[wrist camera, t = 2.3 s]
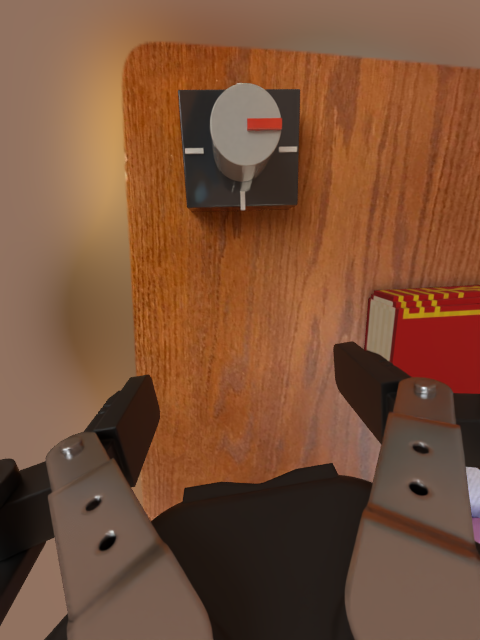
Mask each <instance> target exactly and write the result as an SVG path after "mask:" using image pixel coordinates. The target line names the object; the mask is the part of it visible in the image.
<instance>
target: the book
mask: <svg viewBox="0 0 480 640" xmlns="http://www.w3.org/2000/svg"><path fill="white" fill-rule="evenodd" d="M364 350H365V351H366V350H368V351H371V352H374V353H377V354H380V355H381V356H382V357H384V358H385V359H387V361H390V362H391V363H392V364H394V366H397V367H398V368H400V369H401V370H402V371H404V372H405V373H407V374H408V375H410V376H411V377H424V378H430V379H435V380H438V381H440V382H443V383H445V384H446V385H448V386H449V387H450V388H451V389H452V391H453V393H471V394H480V285H472V286H453V287H434V288H415V289H396V290H378V291H374V294H371V298H369V300H368V311H367V323H366V335H365V347H364Z"/></svg>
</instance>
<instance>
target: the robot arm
mask: <svg viewBox="0 0 480 640" xmlns="http://www.w3.org/2000/svg"><path fill="white" fill-rule="evenodd" d="M333 352H334V367H335V380H336V384H337V387H338V389H339V391H340V393H341V394H342V395H343V397H344V398H345V399H346V400H347V402H348V403H349V404H350V405H351V407H352V408H353V409H354V411H355V412H356V413H357V414H358V416H359V417H360V418H361V419H362V421H363V422H364V423H365V424H366V426H367V427H368V428H369V430H370V431H371V432H372V433H373V435H374V436H375V437H376V438H377V440H378V441H379V442H380V443H381V449H380V453H379V458H378V462H377V466H376V471H375V475H374V480H373V483H371V482H369V481H366V480H363V479H359V478H355V477H350V476H344V475H338V473H337V471H336V469H335V467H334V465H333V463H329V464H323V465H317V466H311V467H305V468H299V469H295V470H293V471H290V472H288V473H286V474H283V475H281V476H278V477H276V478H273V479H271V480H269V481H266V482H264V483H260V484H250V483H233V482H217V483H211V484H205V485H200V486H194V487H188V488H185V489H184V495H183V502H181V503H178V504H176V505H174V506H173V507H171V508H169V509H167V510H166V511H164V512H163V513H161V514H160V515H159V516H157V517H156V518H155V519H153V520H152V521H150V520H149V518H148V516H147V514H146V513H145V511H144V509H143V507H142V506H141V504H140V503H139V501H138V499H137V497H136V496H135V494H134V492H133V490H132V489H131V487H135V485H136V482H137V480H138V477H139V474H140V472H141V469H142V466H143V463H144V461H145V458H146V455H147V453H148V450H149V447H150V445H151V442H152V439H153V436H154V434H155V431H156V428H157V426H158V423H159V419H160V409H159V405H158V401H157V397H156V393H155V390H154V386H153V382H152V379H151V377H150V375H143V376H137V377H131V378H130V379H129V380H128V382H127V383H126V384H125V386H124V387H123V389H122V390H121V391H118V392H117V393H115V394H114V395H113V396H111V397H110V398H109V399H108V400H107V401H106V403H105V404H104V406H103V408H101V410H100V411H99V412H98V414H97V415H96V416H95V418H94V419H93V420H92V421H91V423H90V424H89V425H88V427H87V428H86V429H85V431H84V432H81V433H78V434H75V435H72V436H70V437H68V438H66V439H64V440H63V441H61V442H59V443H58V444H57V445H56V446H54V447H53V448H52V449H51V450H50V451H49V453H48V454H47V456H46V461H45V462H42V463H40V464H37V465H34V466H31V467H29V468H26V469H23V470H20V471H19V469H18V467H17V465H16V463H15V461H14V460H13V459H2V460H0V625H1V624H2V622H3V620H4V618H5V616H6V614H7V613H8V611H9V609H10V607H11V605H12V603H13V602H14V600H15V598H16V596H17V594H18V592H19V591H20V589H21V587H22V585H23V583H24V582H25V580H26V578H27V576H28V574H29V572H30V571H31V569H32V567H33V565H34V563H35V562H36V560H37V558H38V556H39V554H40V552H41V551H42V549H43V547H44V545H45V543H46V541H47V540H50V539H52V538H54V537H55V542H56V547H57V553H58V559H59V565H60V570H61V576H62V582H63V588H64V593H65V600H66V605H67V611H68V614H67V615H66V616H65V617H64V618H63V619H62V620H61V622H60V623H59V624H58V625H57V626H56V627H55V628H54V629H53V631H52V632H51V633H50V634H49V635H48V636H47V637H46V638H45V639H44V640H480V543H478V542H476V541H475V540H474V532H473V524H472V516H471V507H470V499H469V491H468V483H467V475H466V467H476V468H479V469H480V394H471V393H453V391H452V389H451V388H450V387H449V386H448V385H446V384H445V383H443V382H440V381H438V380H435V379H430V378H424V377H411V376H410V375H408V374H407V373H405V372H404V371H402V370H401V369H400V368H398V367H397V366H394V364H392V363H391V362H390V361H387V359H385V358H384V357H382V356H381V355H380V354H377V353H374V352H371V351H368V350H366V351H365V350H364V349H362V348H361V347H360V346H358V345H357V344H356V343H354V342H346V343H340V344H335V345H334V349H333Z"/></svg>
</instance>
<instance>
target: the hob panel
mask: <svg viewBox="0 0 480 640" xmlns="http://www.w3.org/2000/svg"><path fill="white" fill-rule="evenodd" d="M237 84H241V83H237ZM264 90H266V91H267V92H268V93H269V94H270V95H271V96H272V98H273V99H274V100H275V102H276V104H277V106H278V109H279V112H280V115H281V118H282V129H281V135H280V139H279V142H278V144H277V147H276V148H275V150H274V152H273V154H272V156H271V158H270V160H269V162H268V163H267V165H266V167H265V169H264V170H263V171H262V173H261V174H260V175H259V176H257V177H256V178H254V179H252V180H250V181H244V182H239V181H234V180H231V179H229V178H228V177H226V176H225V175H224V174H223V173H222V172H221V171H220V170H219V168H218V167H217V165H216V163H215V160H214V156H213V149H212V140H211V132H210V117H211V112H212V109H213V106H214V104H215V102H216V100H217V99H218V97H219V96H220V95H221V94H222V93H223V92H224V91H225V90H178V97H179V110H180V123H181V136H182V149H183V162H184V174H185V187H186V200H187V208H188V209H189V210H190V211H191V212H216V211H254V210H289V209H291V208H292V207H294V206H296V205H297V204H298V161H299V118H300V89H264Z"/></svg>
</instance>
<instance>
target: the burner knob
mask: <svg viewBox="0 0 480 640" xmlns="http://www.w3.org/2000/svg"><path fill="white" fill-rule="evenodd" d="M281 129H282V118H281V115H280V112H279V109H278V106H277V104H276V102H275V100H274V99H273V98H272V96H271V95H270V94H269V93H268V92H267V91H266V90H264V89H263V88H261V87H259V86H257V85H254V84H250V83H241V84H237V85H234V86H231V87H230V88H228V89H226V90H225V91H224V92H223V93H222V94H221V95H220V96H219V97H218V99H217V100H216V102H215V104H214V106H213V109H212V112H211V117H210V132H211V140H212V149H213V156H214V160H215V163H216V165H217V167H218V168H219V170H220V171H221V172H222V173H223V174H224V175H225V176H226V177H228V178H229V179H231V180H234V181H239V182H244V181H250V180H252V179H254V178H256V177H257V176H259V175H260V174H261V173H262V171H263V170H264V169H265V167H266V165H267V163H268V162H269V160H270V158H271V156H272V154H273V152H274V150H275V148H276V147H277V144H278V142H279V139H280V135H281Z"/></svg>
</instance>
